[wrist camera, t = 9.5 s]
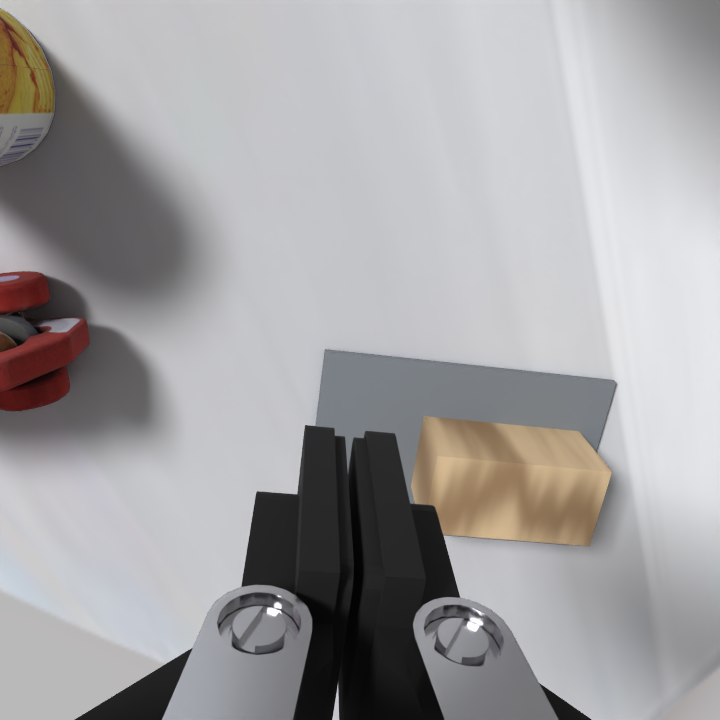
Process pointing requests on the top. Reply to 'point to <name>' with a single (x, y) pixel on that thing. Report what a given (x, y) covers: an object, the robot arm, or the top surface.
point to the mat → (450, 399)
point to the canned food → (23, 91)
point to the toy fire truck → (34, 345)
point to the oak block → (509, 481)
